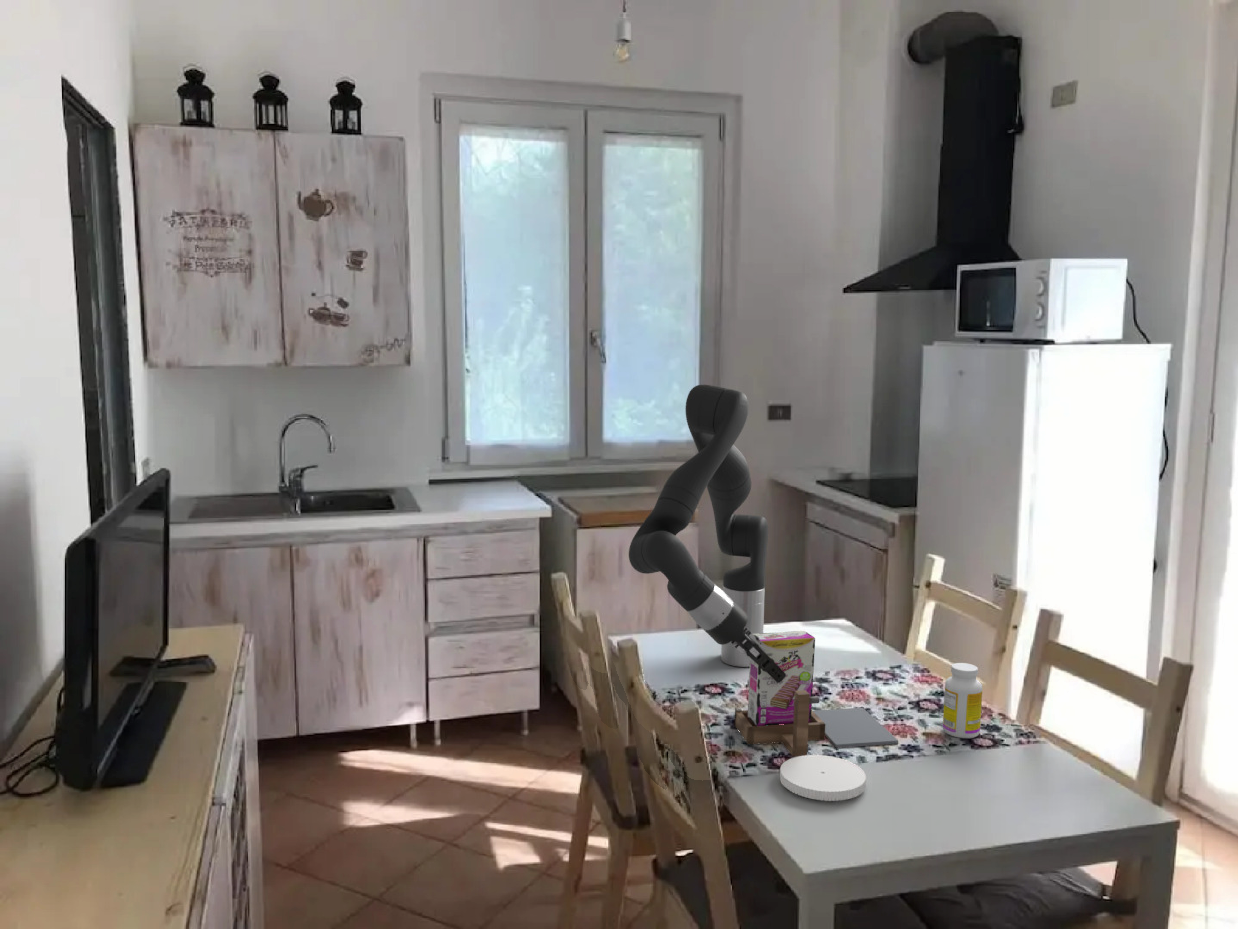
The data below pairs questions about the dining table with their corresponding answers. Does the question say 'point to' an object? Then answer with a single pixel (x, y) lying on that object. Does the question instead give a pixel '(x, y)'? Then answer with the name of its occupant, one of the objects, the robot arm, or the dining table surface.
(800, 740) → the walnut holder
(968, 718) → the supplement bottle
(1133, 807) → the dining table surface
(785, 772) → the plastic lid
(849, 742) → the slate mat
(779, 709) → the candy bar box
